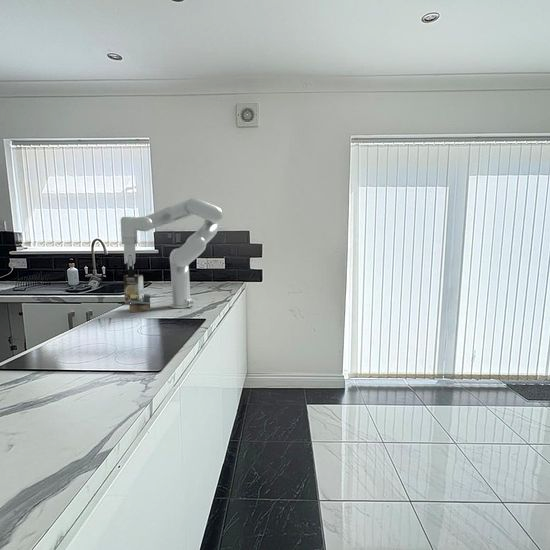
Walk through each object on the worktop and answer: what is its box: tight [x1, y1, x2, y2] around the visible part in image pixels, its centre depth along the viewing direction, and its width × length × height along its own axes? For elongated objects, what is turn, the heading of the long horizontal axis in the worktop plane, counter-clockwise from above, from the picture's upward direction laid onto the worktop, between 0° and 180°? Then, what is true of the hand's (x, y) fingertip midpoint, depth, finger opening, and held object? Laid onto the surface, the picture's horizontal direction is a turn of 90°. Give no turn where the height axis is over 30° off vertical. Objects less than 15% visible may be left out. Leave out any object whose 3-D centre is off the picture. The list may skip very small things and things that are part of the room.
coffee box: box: [122, 274, 145, 305], centre depth 199 cm, size 9×6×16 cm
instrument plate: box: [130, 293, 151, 305], centre depth 181 cm, size 10×8×4 cm
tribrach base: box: [129, 303, 152, 313], centre depth 182 cm, size 10×8×3 cm
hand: (131, 277), depth 178 cm, fingers closed
